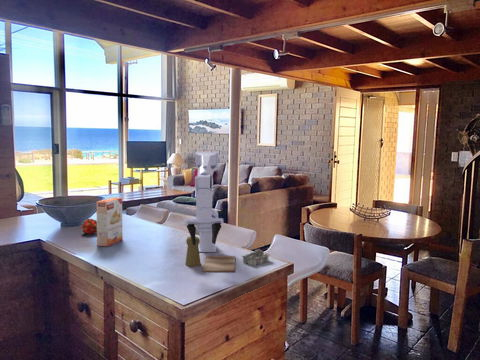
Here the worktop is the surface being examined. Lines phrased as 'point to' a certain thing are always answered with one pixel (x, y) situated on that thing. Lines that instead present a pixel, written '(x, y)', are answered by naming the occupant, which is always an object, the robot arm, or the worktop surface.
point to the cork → (192, 253)
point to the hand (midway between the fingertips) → (203, 244)
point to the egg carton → (255, 257)
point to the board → (219, 264)
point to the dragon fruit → (89, 226)
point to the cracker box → (109, 221)
